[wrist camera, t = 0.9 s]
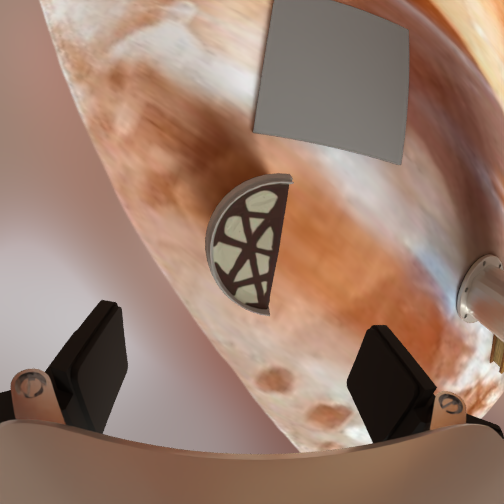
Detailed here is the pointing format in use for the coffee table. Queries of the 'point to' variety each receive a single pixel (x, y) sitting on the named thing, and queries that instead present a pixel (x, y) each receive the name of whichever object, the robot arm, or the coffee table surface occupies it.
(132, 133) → the coffee table surface
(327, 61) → the mat
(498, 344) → the brown flat wooden box
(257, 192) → the food container
